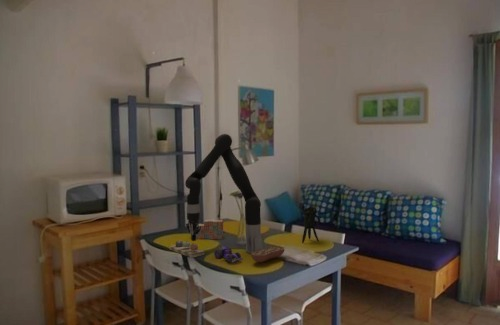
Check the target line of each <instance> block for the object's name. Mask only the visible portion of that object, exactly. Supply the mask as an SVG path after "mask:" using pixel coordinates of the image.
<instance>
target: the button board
mask: <svg viewBox="0 0 500 325" xmlns="http://www.w3.org/2000/svg"><path fill="white" fill-rule="evenodd" d="M169 250H170V251H173V252H175V253H178V254H180V255H183V256H185V257H188V258H190V257H189V256H191V257H193V258H196V257H201V256H204V255H205V251H204V250H203V249H199V248H198V249H197V250H190V247H183V246H181V247H176V244H174V245H171V246H169Z"/></svg>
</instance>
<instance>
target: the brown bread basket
mask: <svg viewBox="0 0 500 325" xmlns="http://www.w3.org/2000/svg"><path fill="white" fill-rule="evenodd" d="M284 253H285V247H284V246H281V245H274V246H273V245H272V246H267V247H262V249H259V250H256V251H254V252H252V253H250V254H251V258H252V259H253V261H255V262H256V263H262V262H266V261H268V260H270V259H274V258H278V257H280V256H282V255H284Z"/></svg>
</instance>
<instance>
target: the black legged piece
mask: <svg viewBox="0 0 500 325" xmlns="http://www.w3.org/2000/svg"><path fill="white" fill-rule="evenodd" d="M305 207H306V206H305V204H304V203H302V204H301V205H300V208H301V211H302V213H303V214H304V218H303V219H304V220H303V225H304V228H303V234H302V239H301V243H302V244H304V243H305V241H306V240H305V239H306V237H308V240H311V236H312V231H313V234H314V235H313V236H314V237H315V238H316V241H317V242H318V243H320V241H319V237H318V234H317V232H316V228H315V227H316V225H318V224H320V222H321V219H320V217H319V216H318V215H317V213H318V210H317V206H316V205H314V204H313V205H311V206H308V207H307V208H305ZM315 218H317V221H316V220H315ZM315 221H316V222H315ZM307 235H308V236H307Z"/></svg>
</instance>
